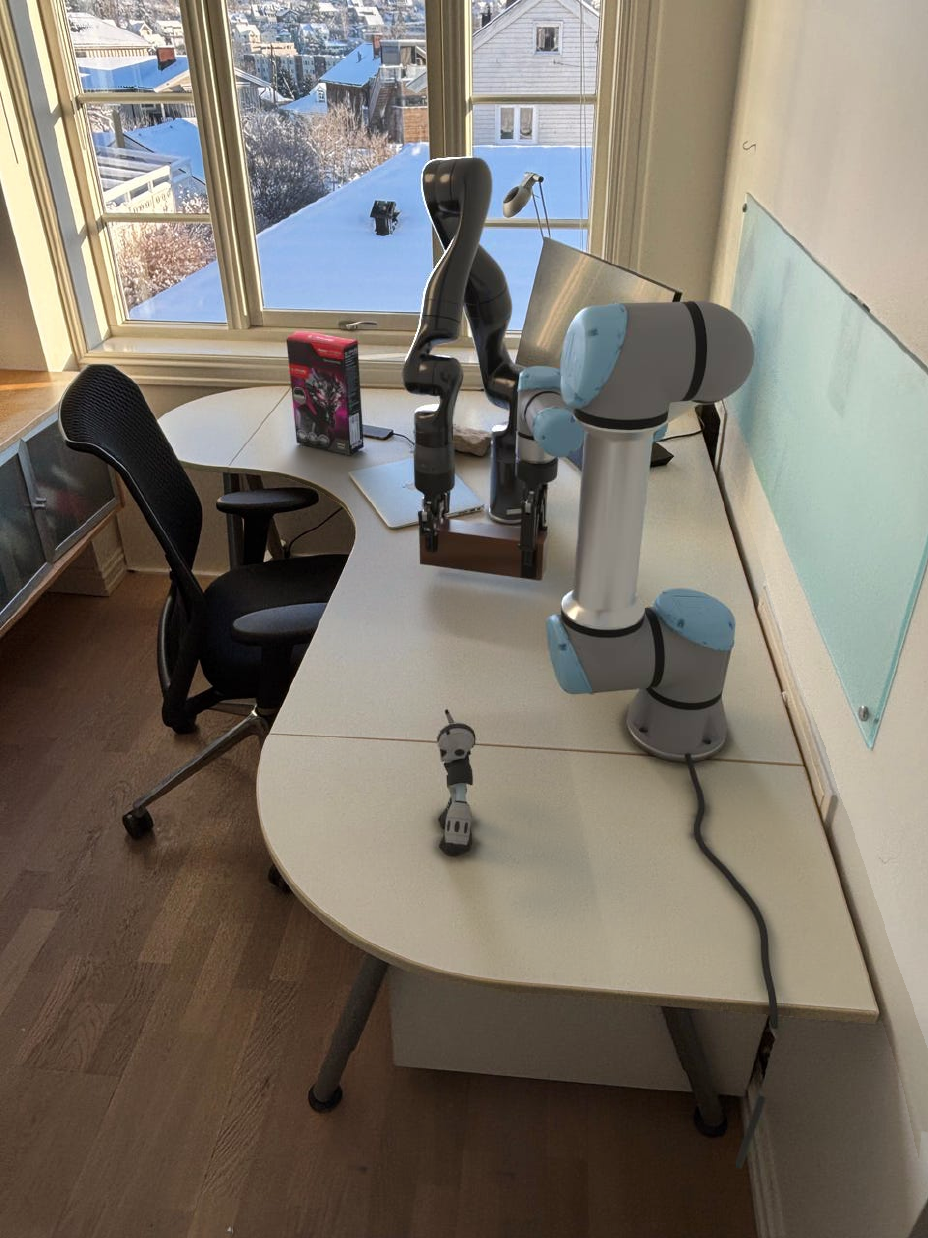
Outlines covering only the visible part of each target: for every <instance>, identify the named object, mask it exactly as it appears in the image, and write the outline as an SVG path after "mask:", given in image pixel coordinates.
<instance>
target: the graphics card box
mask: <svg viewBox="0 0 928 1238" xmlns="http://www.w3.org/2000/svg"><path fill="white" fill-rule="evenodd" d="M285 341H286V348H287V349H286V350H287V359H288V369H289V378H290V389H291V398H292V408H293V420H294V428H295V441H296V444H300V445H304V446H309V447H314V448H317V449H321V450H326V451H330V452H334V453H340V454H343V455H348V456H351V455H353V454H354V453H356V452H358V451H359V450H361V449H363V448H364V445H365V443H364V428H363V427H364V426H363V424H364V423H363V411H362V409H363V408H362V396H361V377H360V361H359V341H358V339H350V338H343V337H339V336H333V335H330V334H329V335H328V334H324V333H318V332H313V331H312V332H311V331H306V330H298V331H295V332H293V333H292V334H290V335H289V336H288V337H286V340H285Z"/></svg>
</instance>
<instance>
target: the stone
mask: <svg viewBox="0 0 928 1238" xmlns="http://www.w3.org/2000/svg"><path fill="white" fill-rule="evenodd" d="M412 431H413V433H414V430H412ZM491 436H492V432H489V431H488V430H487V431H486V430H482V429H474V428H470V427H463V426H460V425H457V424H456V423H453V444H454V450H457V451H459V452H464V453H471V454H474V455H475V456H478V457H483V456H484V455H485V454H486V452H487V449H488V448H489V446H491Z"/></svg>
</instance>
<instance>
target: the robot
mask: <svg viewBox="0 0 928 1238" xmlns="http://www.w3.org/2000/svg"><path fill="white" fill-rule="evenodd" d="M444 713H445V717H446V719H447V723H448V724H445V726H444V727H443V728H441V729H440V730H439V731H438V733H437V736H436V743H437V747H438V748H439V760H440V761H441V762H442V763H443V764H442V765H443V767H444V770H445V771H446V777H445V778H446V788H447V789H448V792H449V793H450V797H449V799H448V801H447V804H446V806H445V808H444V810H443V812H441V813H440V814H439V816H438V818H437V821H438V823H439V825H440V827H441V828H442V829H443V830H444V833H443V835H442V837H441V839H440V843H439V845H438V848H439V849H440V850H441V851H442V852H443V853H444V855H449V856H451V857H452V856H453V857H454V856H460V855H462V854H465V853H467V852H469V851H471V848H472V845H473V834H472V830H471V827H472V817H473V816H472V810H471V806H470V804H469V803H468V801H467V797H466V796H467V793H468V787H467V785H469V786H473V785H474V776H473V768H472V765H471V763H470V756H471V755H472V751H471V749H472V748H474V747H475V745H476V741H477V738H476V733H475V730H474V729H473V728H472V727H471V726H470V725H468V724H466V723H464V722H461V721H455V720H454V719H453V716H452V714H451V713H450V711H449V709H448V708H446V709H445V710H444Z"/></svg>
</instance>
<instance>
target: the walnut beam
mask: <svg viewBox="0 0 928 1238" xmlns="http://www.w3.org/2000/svg"><path fill="white" fill-rule="evenodd" d="M433 519H437V517H433ZM428 529H429V528H428ZM437 532H438V534H437V551H436V552H435V553H432V552H427V551H426V550H425V537H424V536H421V535H420V528H419V527H418V538H419V539H418V540H419V541H418V542H419V543H418V544H419V545H418V546H419V565H424V566H432V567H439V568H446V569H453V570H460V571H467V572H474V573H480V574H481V573H482V574H488V575H495V576H503V577H508V578H509V577H510V578H517V579H522V580H523V579H524V580H530V581H531V580H532V581H538V582H542V581H543V578H544V575H545V573H546V571H547V568H548V565H547V564H548V551H549V550H548V548H549V536H550V535H549V534H550V533H549V531H548V530H547V531H539V530H537V540H536V547H537V561H536V578H535V579H530V578H522V577H521V560H522V550H520V548H518V545H519V544H520V533H521V527H516V526H507V525H501V524H493V523H492V524H491V523H484V522H476V521H468V520H460V519H454V518H453V519H452V518H447V519H446V518H441V522H440V523H439V524H438V530H437Z"/></svg>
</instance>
